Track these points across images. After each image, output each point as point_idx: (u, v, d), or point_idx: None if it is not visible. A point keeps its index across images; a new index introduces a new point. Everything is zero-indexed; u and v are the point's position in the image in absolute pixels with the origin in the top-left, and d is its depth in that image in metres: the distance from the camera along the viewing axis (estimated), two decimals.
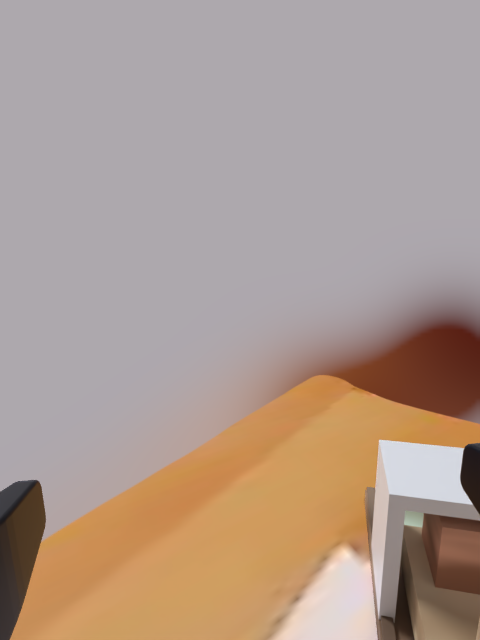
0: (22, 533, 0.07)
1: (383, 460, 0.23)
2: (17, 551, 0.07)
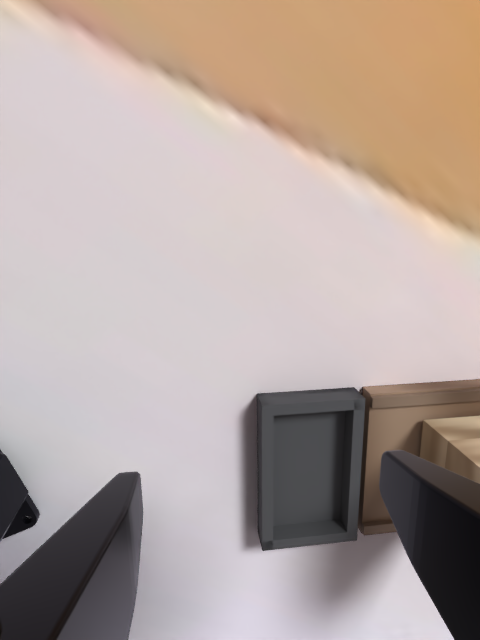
0: (134, 522, 0.07)
1: None
2: (133, 539, 0.07)
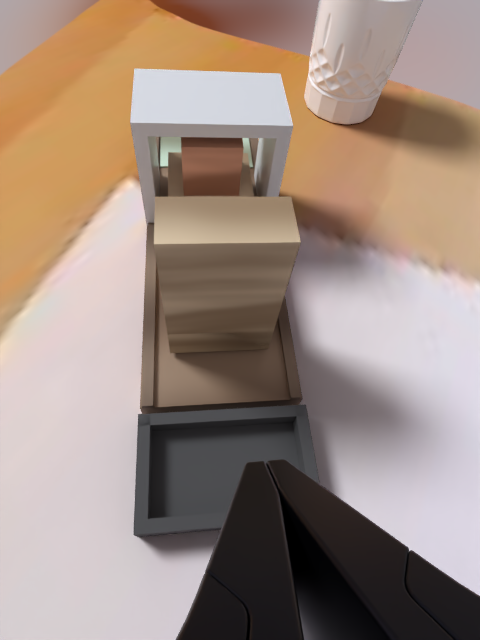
0: None
1: (133, 90, 0.23)
2: None
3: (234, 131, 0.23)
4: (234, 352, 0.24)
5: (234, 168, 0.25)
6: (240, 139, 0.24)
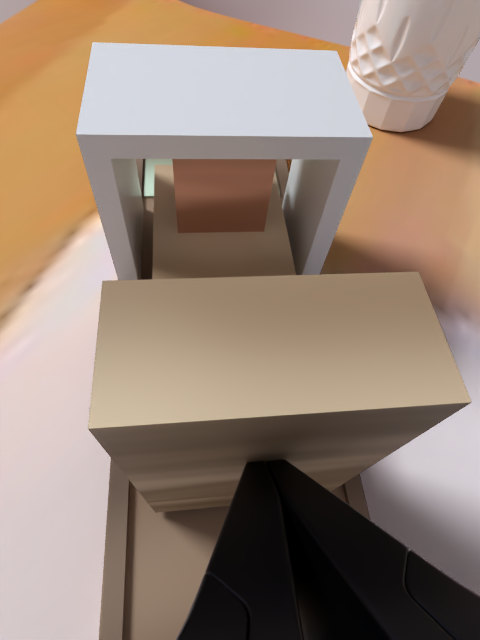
0: None
1: (87, 77, 0.13)
2: None
3: (267, 148, 0.13)
4: None
5: (259, 191, 0.15)
6: None
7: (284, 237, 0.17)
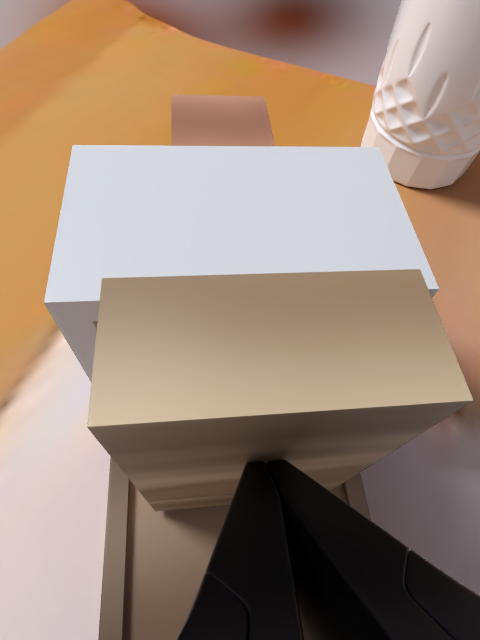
0: None
1: (64, 202, 0.10)
2: None
3: None
4: None
5: None
6: (271, 142, 0.15)
7: None
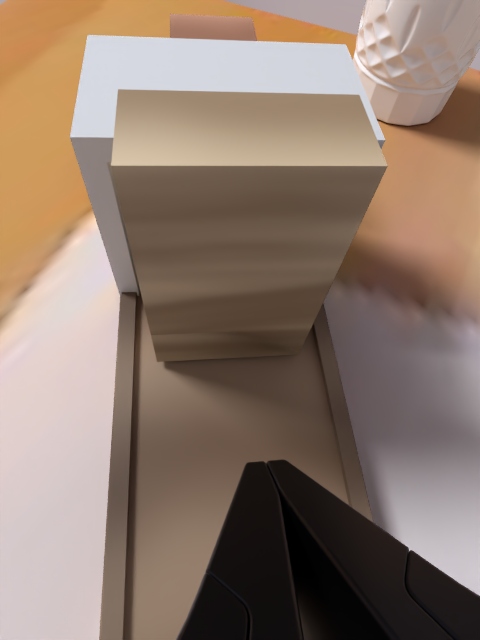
0: None
1: (82, 74, 0.12)
2: None
3: None
4: None
5: None
6: None
7: None
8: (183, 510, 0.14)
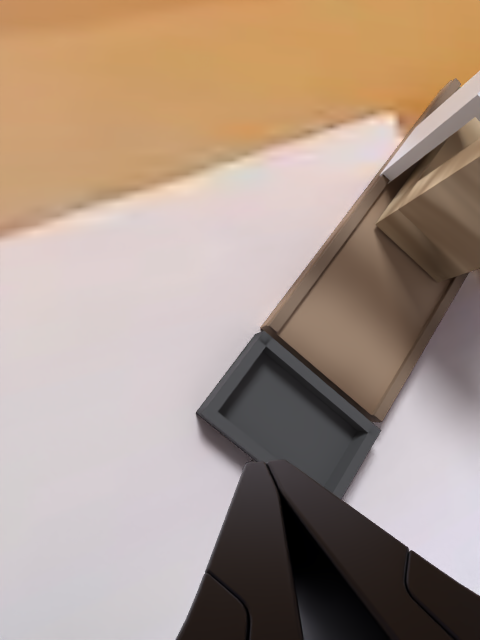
0: None
1: None
2: None
3: None
4: (361, 343, 0.24)
5: None
6: None
7: None
8: (339, 296, 0.24)
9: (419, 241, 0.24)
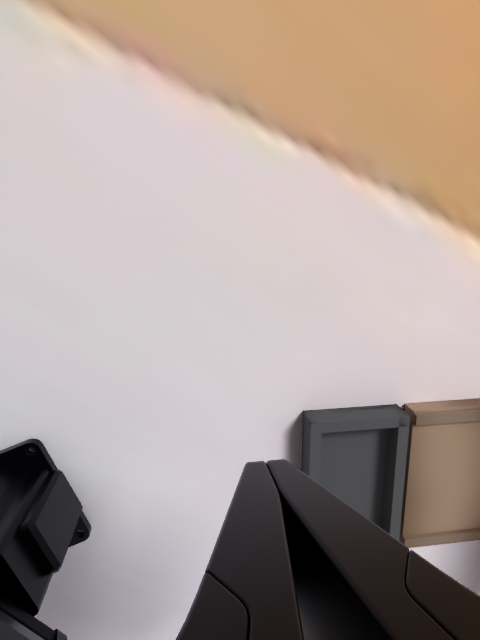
0: None
1: None
2: None
3: None
4: (454, 490, 0.24)
5: None
6: None
7: None
8: None
9: None
